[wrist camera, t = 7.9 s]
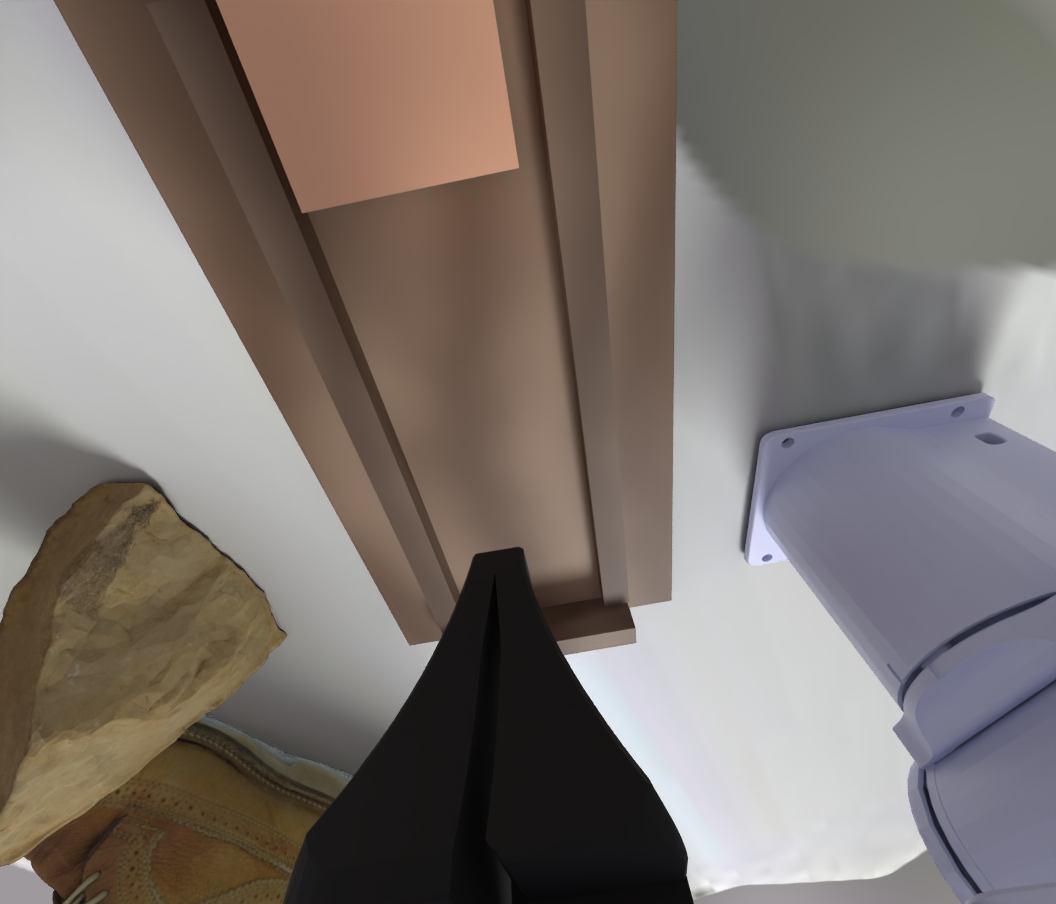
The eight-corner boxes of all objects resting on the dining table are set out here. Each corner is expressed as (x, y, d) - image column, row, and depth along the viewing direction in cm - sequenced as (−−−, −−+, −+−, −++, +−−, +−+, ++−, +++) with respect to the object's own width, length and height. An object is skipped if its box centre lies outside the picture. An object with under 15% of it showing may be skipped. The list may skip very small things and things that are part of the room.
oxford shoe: (413, 774, 35) (385, 1005, 25) (339, 816, 38) (290, 1032, 29) (-32, 636, 22) (-413, 984, 13) (-81, 716, 26) (-409, 1036, 16)
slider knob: (479, -46, 10) (477, -104, 8) (513, 167, 12) (519, 167, 10) (260, 3, 10) (199, -40, 8) (334, 204, 12) (302, 213, 10)
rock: (-59, 473, 15) (-32, 676, 18) (-88, 680, 10) (-44, 899, 14) (289, 458, 23) (260, 600, 26) (364, 567, 18) (317, 723, 22)
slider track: (662, -199, 10) (724, -328, 7) (665, 584, 24) (685, 634, 21) (51, -55, 10) (-94, -128, 8) (412, 629, 24) (403, 682, 22)
